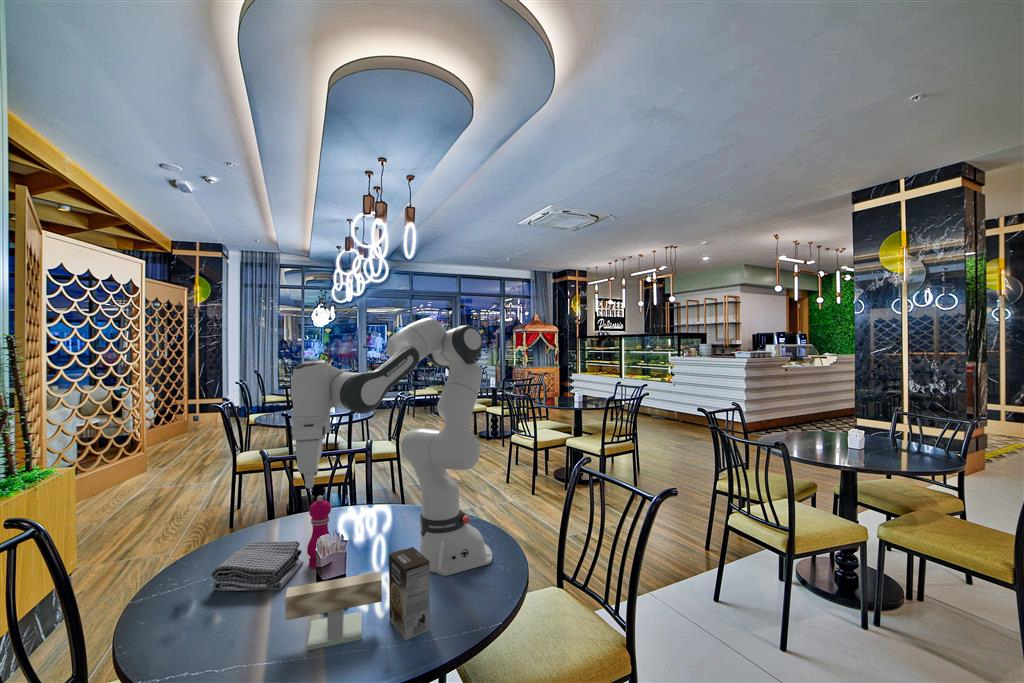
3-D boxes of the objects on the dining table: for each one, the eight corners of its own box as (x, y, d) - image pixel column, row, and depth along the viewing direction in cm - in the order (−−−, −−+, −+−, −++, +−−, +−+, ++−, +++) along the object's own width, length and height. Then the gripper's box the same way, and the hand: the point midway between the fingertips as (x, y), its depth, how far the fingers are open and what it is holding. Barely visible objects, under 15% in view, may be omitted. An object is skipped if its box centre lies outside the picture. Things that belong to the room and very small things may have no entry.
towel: (244, 564, 134) (244, 538, 134) (306, 565, 134) (305, 538, 134) (209, 594, 119) (209, 564, 119) (279, 594, 119) (278, 564, 118)
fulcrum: (361, 615, 109) (361, 590, 109) (361, 639, 100) (361, 612, 100) (311, 624, 106) (311, 599, 105) (307, 650, 97) (307, 622, 97)
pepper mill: (324, 570, 130) (323, 501, 130) (301, 567, 131) (301, 499, 131) (338, 558, 137) (338, 492, 137) (317, 555, 139) (316, 490, 138)
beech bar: (380, 592, 108) (380, 571, 108) (381, 601, 104) (381, 580, 104) (287, 609, 101) (287, 587, 101) (285, 620, 98) (285, 597, 98)
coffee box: (388, 621, 107) (387, 553, 107) (413, 611, 111) (413, 545, 111) (404, 642, 100) (403, 569, 99) (430, 630, 103) (430, 560, 103)
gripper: (302, 419, 122) (303, 470, 122) (291, 435, 102) (291, 496, 102) (327, 417, 124) (328, 468, 124) (321, 433, 104) (322, 492, 104)
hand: (311, 481), depth 113 cm, fingers open, 8 cm apart
